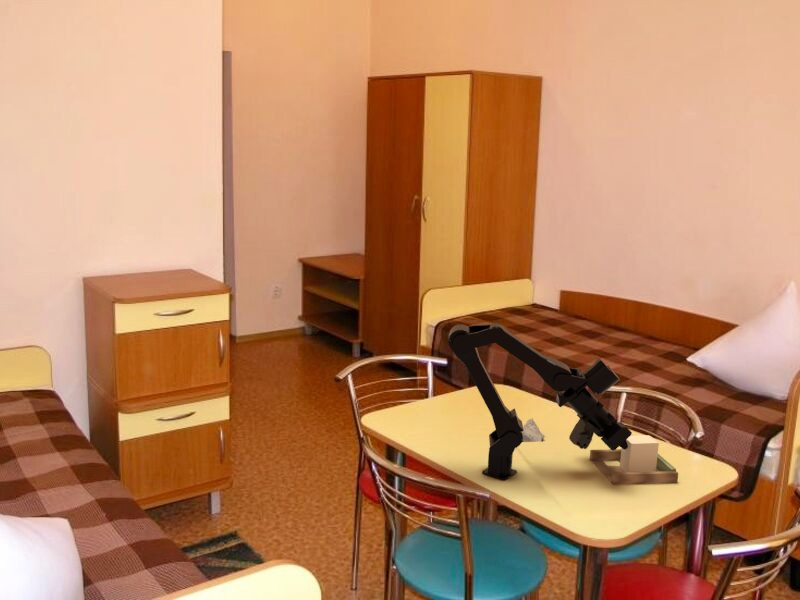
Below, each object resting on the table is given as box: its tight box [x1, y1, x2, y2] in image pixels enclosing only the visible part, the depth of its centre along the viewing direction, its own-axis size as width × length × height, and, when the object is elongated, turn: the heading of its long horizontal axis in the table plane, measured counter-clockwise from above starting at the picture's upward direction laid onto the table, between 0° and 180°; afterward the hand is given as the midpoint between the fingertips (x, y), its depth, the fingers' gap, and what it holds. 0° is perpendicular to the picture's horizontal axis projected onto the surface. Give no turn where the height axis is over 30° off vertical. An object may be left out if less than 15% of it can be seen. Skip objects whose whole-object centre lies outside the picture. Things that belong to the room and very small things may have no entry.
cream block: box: [619, 435, 660, 472], centre depth 192 cm, size 7×5×8 cm
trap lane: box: [589, 448, 679, 486], centre depth 192 cm, size 16×15×4 cm
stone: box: [522, 418, 546, 443], centre depth 216 cm, size 6×12×4 cm, turn 157°
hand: (625, 447), depth 190 cm, fingers closed
